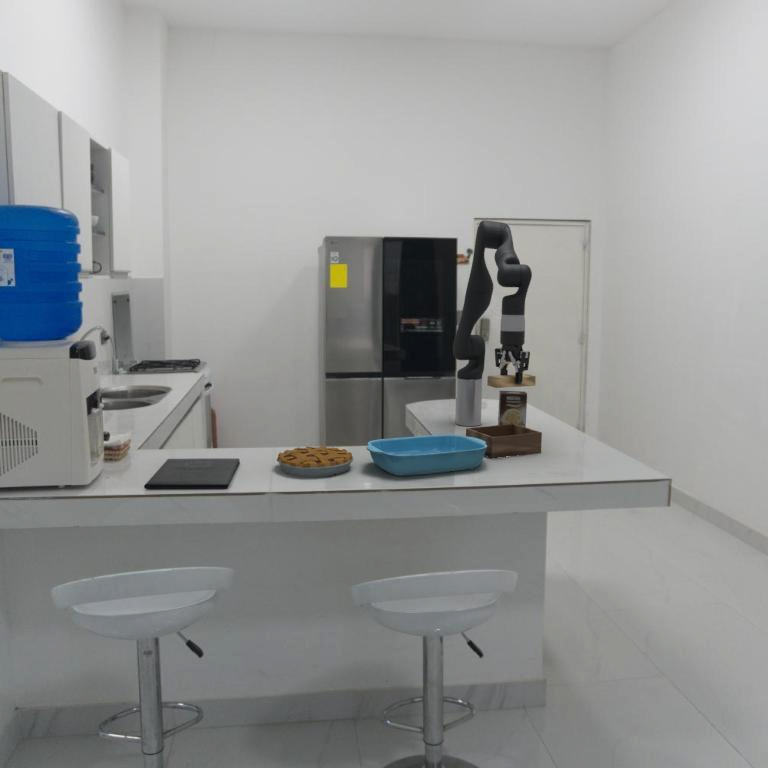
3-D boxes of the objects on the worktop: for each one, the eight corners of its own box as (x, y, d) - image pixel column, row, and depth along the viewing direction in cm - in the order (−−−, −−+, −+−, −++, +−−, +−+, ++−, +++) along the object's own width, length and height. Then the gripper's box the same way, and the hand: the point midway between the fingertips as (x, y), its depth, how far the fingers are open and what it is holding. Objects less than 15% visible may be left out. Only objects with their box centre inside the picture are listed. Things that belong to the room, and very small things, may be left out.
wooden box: (465, 448, 238) (466, 428, 237) (512, 442, 246) (513, 423, 245) (492, 458, 225) (492, 437, 224) (541, 452, 233) (541, 432, 232)
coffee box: (498, 440, 250) (499, 393, 247) (497, 436, 256) (498, 390, 253) (525, 441, 249) (527, 393, 246) (524, 437, 255) (525, 390, 253)
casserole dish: (463, 452, 234) (463, 430, 233) (501, 469, 214) (502, 445, 212) (354, 463, 219) (354, 440, 218) (384, 483, 199) (384, 457, 198)
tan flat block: (526, 383, 238) (526, 374, 238) (535, 385, 233) (535, 376, 232) (487, 385, 233) (487, 375, 233) (495, 387, 228) (496, 378, 228)
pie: (367, 472, 210) (367, 455, 209) (297, 483, 198) (296, 465, 198) (331, 456, 228) (330, 440, 227) (264, 465, 217) (264, 448, 216)
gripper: (537, 330, 226) (536, 384, 229) (506, 327, 238) (504, 379, 241) (519, 331, 222) (517, 386, 225) (488, 328, 234) (486, 380, 237)
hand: (511, 382), depth 233 cm, fingers closed on tan flat block, 6 cm apart
